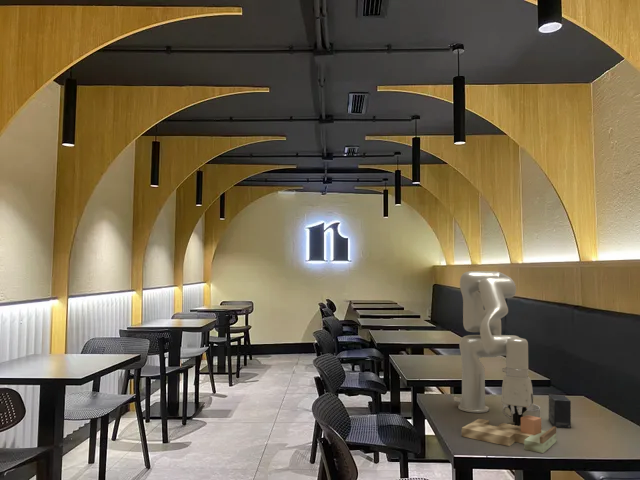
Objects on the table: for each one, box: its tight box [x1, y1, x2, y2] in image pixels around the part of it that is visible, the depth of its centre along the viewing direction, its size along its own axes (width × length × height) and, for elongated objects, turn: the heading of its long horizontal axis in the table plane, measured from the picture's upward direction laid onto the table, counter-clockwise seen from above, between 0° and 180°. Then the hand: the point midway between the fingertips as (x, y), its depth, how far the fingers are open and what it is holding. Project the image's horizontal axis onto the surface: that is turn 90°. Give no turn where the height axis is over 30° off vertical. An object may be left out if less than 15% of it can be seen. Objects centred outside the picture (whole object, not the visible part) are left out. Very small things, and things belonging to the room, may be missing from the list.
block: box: [521, 415, 542, 435], centre depth 189 cm, size 5×5×5 cm
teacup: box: [501, 403, 541, 426], centre depth 208 cm, size 14×11×8 cm
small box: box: [548, 393, 572, 429], centre depth 211 cm, size 11×6×10 cm, turn 168°
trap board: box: [461, 418, 558, 454], centre depth 191 cm, size 28×16×5 cm, turn 52°
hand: (517, 424), depth 193 cm, fingers closed
